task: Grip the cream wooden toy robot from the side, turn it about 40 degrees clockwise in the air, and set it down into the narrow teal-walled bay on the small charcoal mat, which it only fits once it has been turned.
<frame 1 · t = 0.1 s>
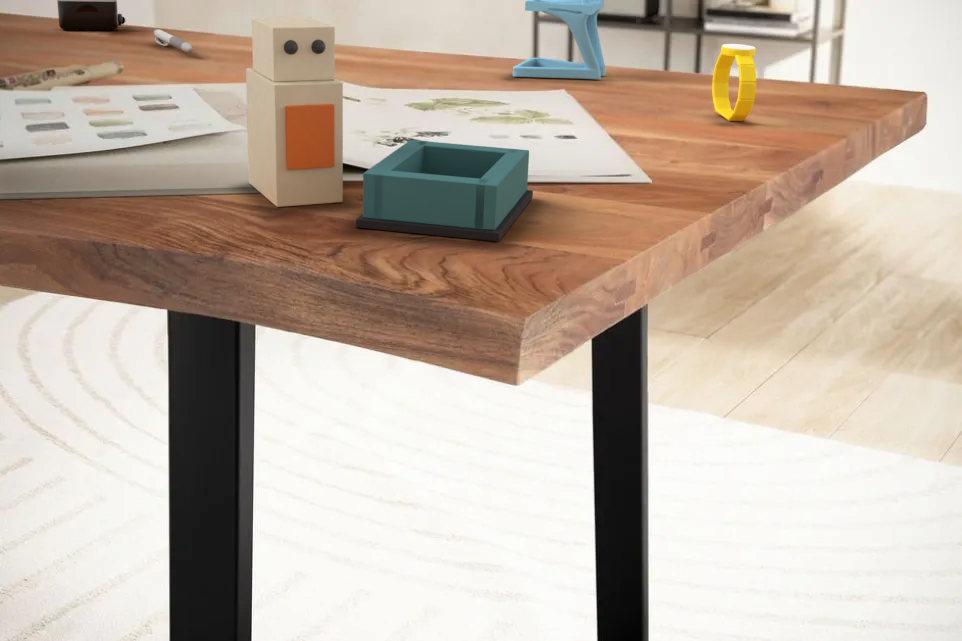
pen: (172, 51, 127), on the table
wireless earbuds: (96, 30, 140), on the table
watch: (729, 120, 103), on the table
bay: (448, 212, 71), on the table
toy robot: (294, 192, 74), on the table
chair: (561, 76, 121), on the table
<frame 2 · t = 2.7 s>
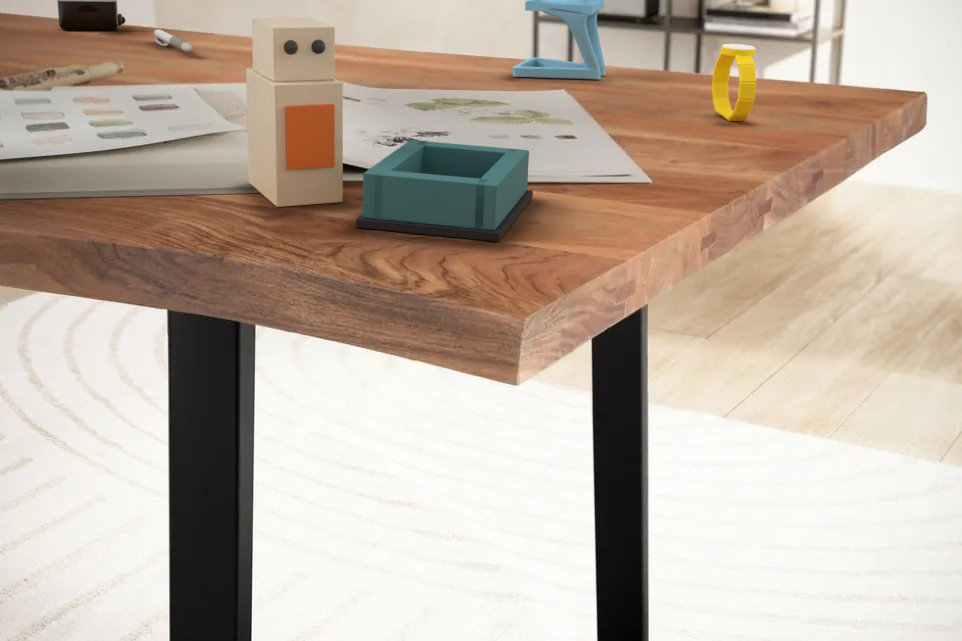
nothing on the table moved.
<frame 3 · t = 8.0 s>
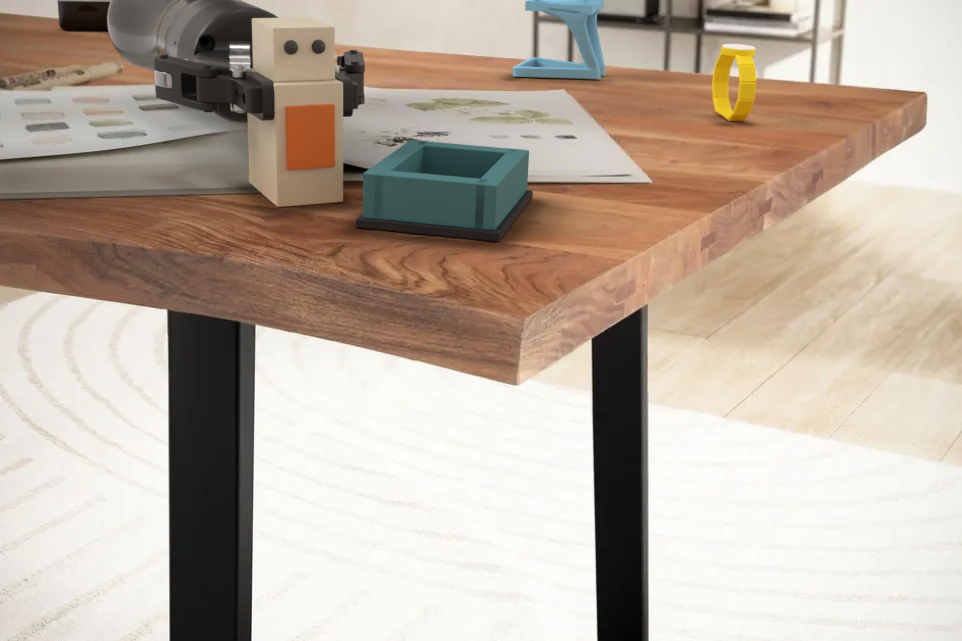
hand: (308, 100, 69), 6 cm above the table, tool horizontal, fingers closed on toy robot, 4 cm apart
toy robot: (295, 192, 74), on the table, touching gripper
everything else where it was.
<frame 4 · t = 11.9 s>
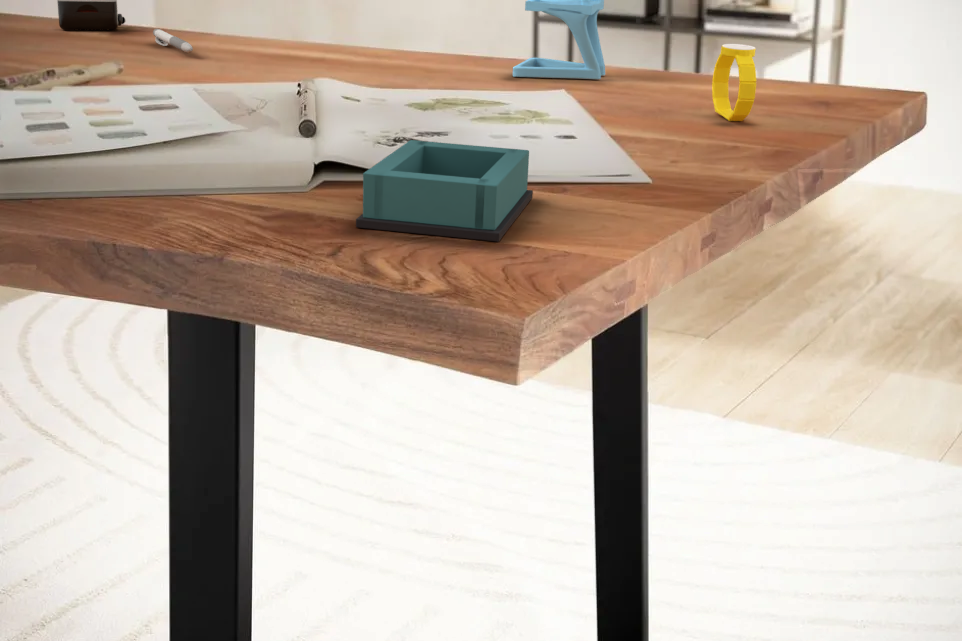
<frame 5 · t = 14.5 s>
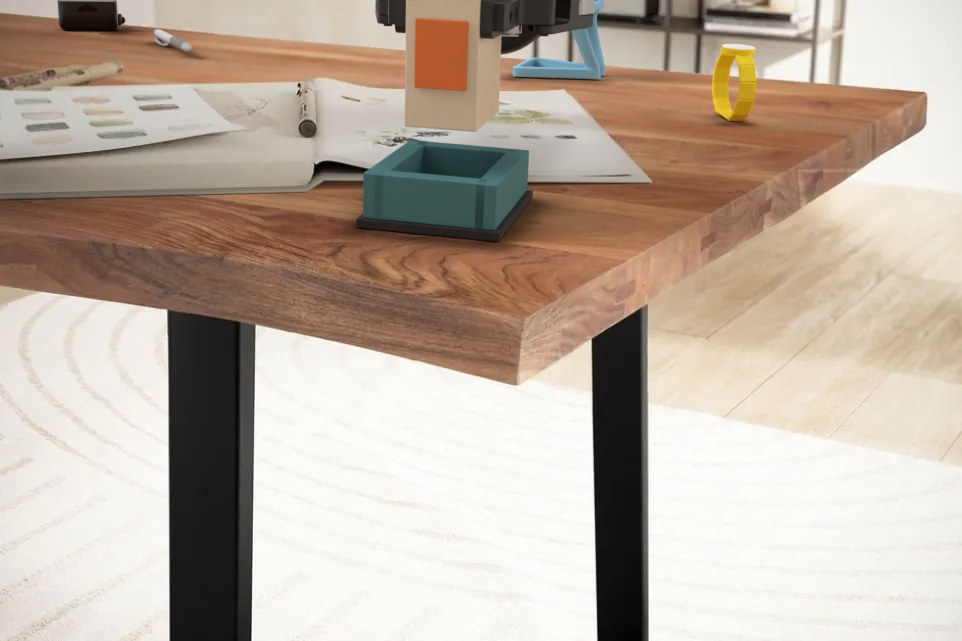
hand: (444, 15, 64), 11 cm above the table, tool horizontal, fingers closed on toy robot, 4 cm apart
toy robot: (453, 119, 69), point 5 cm above the table, touching gripper
everything else where it was.
when the fingers open (6 cm above the table, at t = 16.3 s): toy robot stays where it is, resting on bay.
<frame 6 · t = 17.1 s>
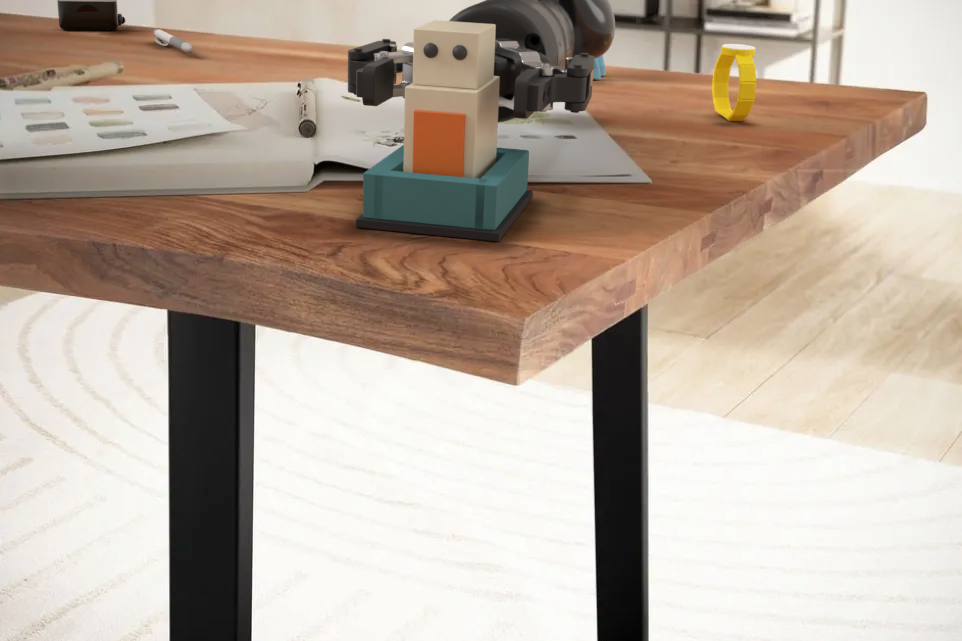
hand: (443, 93, 67), 7 cm above the table, tool horizontal, fingers open, 8 cm apart
toy robot: (450, 203, 71), resting on bay
everything else where it was.
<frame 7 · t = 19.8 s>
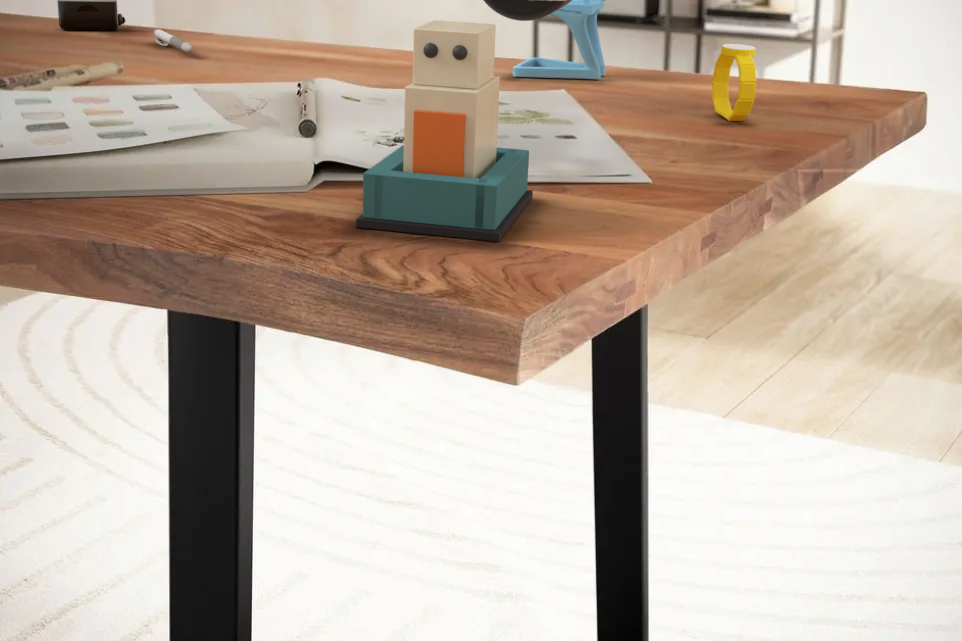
nothing on the table moved.
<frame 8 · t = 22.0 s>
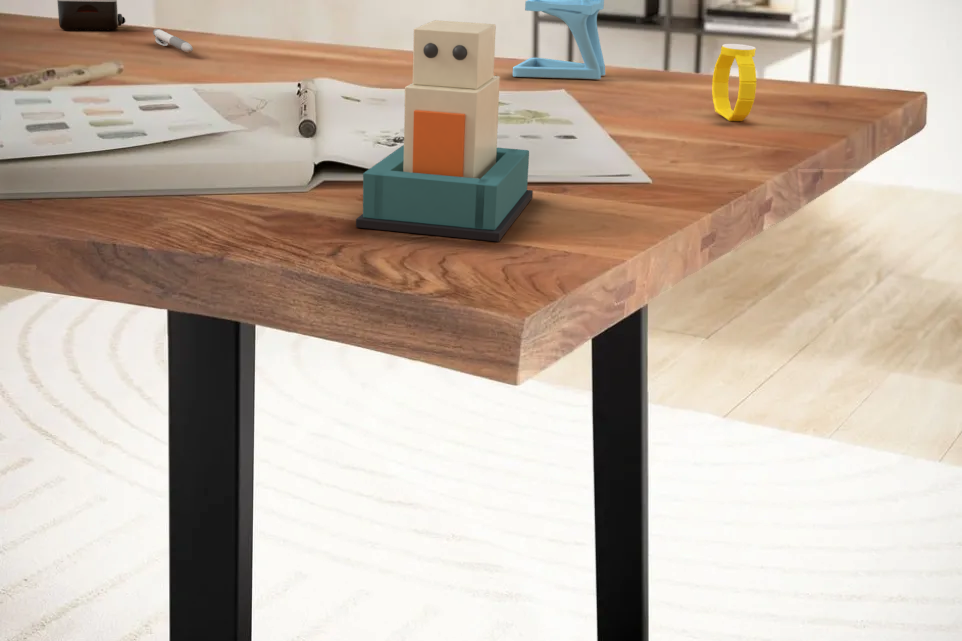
nothing on the table moved.
at the end: toy robot 0.1 cm off-centre on the bay, point 0.5 cm above the bay's base; toy robot tilted 0°; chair moved 0.2 cm from its start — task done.
